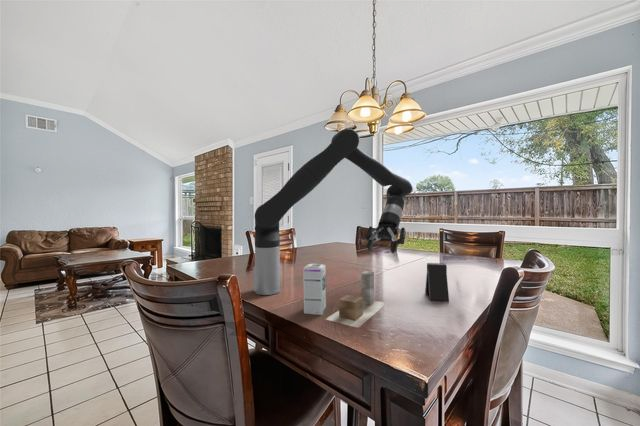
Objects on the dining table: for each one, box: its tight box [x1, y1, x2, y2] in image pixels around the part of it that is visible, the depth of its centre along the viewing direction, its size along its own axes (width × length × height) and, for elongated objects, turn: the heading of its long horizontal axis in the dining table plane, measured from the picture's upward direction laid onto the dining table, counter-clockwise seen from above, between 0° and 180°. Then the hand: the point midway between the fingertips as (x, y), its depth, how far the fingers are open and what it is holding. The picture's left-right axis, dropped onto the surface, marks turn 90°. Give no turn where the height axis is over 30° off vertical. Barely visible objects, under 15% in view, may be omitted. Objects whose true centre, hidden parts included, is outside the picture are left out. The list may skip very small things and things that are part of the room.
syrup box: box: [302, 263, 327, 316], centre depth 81 cm, size 6×6×14 cm
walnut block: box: [338, 294, 363, 321], centre depth 77 cm, size 5×5×5 cm
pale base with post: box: [324, 270, 387, 329], centre depth 81 cm, size 10×22×11 cm, turn 147°
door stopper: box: [424, 262, 450, 302], centre depth 96 cm, size 9×6×12 cm, turn 169°
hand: (380, 250), depth 96 cm, fingers open, 8 cm apart
